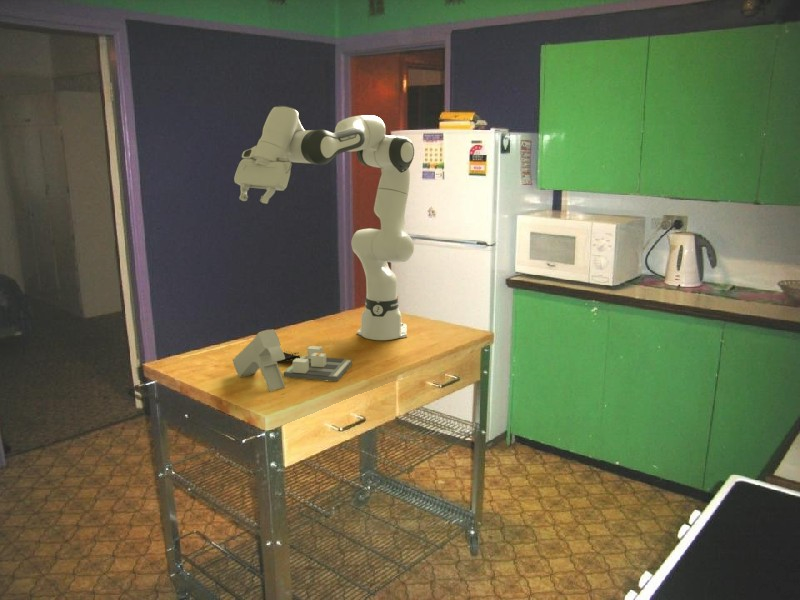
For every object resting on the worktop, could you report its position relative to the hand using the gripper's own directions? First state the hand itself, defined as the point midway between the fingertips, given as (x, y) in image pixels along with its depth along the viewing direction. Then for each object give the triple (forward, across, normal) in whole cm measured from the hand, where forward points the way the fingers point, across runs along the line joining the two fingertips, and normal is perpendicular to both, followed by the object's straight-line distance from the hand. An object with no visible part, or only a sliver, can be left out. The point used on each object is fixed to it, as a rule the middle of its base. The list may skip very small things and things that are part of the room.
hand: (252, 201), depth 192 cm
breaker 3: (+39, -12, -36) cm, 54 cm away
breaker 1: (+42, -12, -29) cm, 53 cm away
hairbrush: (+40, +10, -38) cm, 56 cm away
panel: (+40, -12, -37) cm, 56 cm away
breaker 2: (+37, -6, -40) cm, 54 cm away
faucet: (+49, -6, -21) cm, 53 cm away
